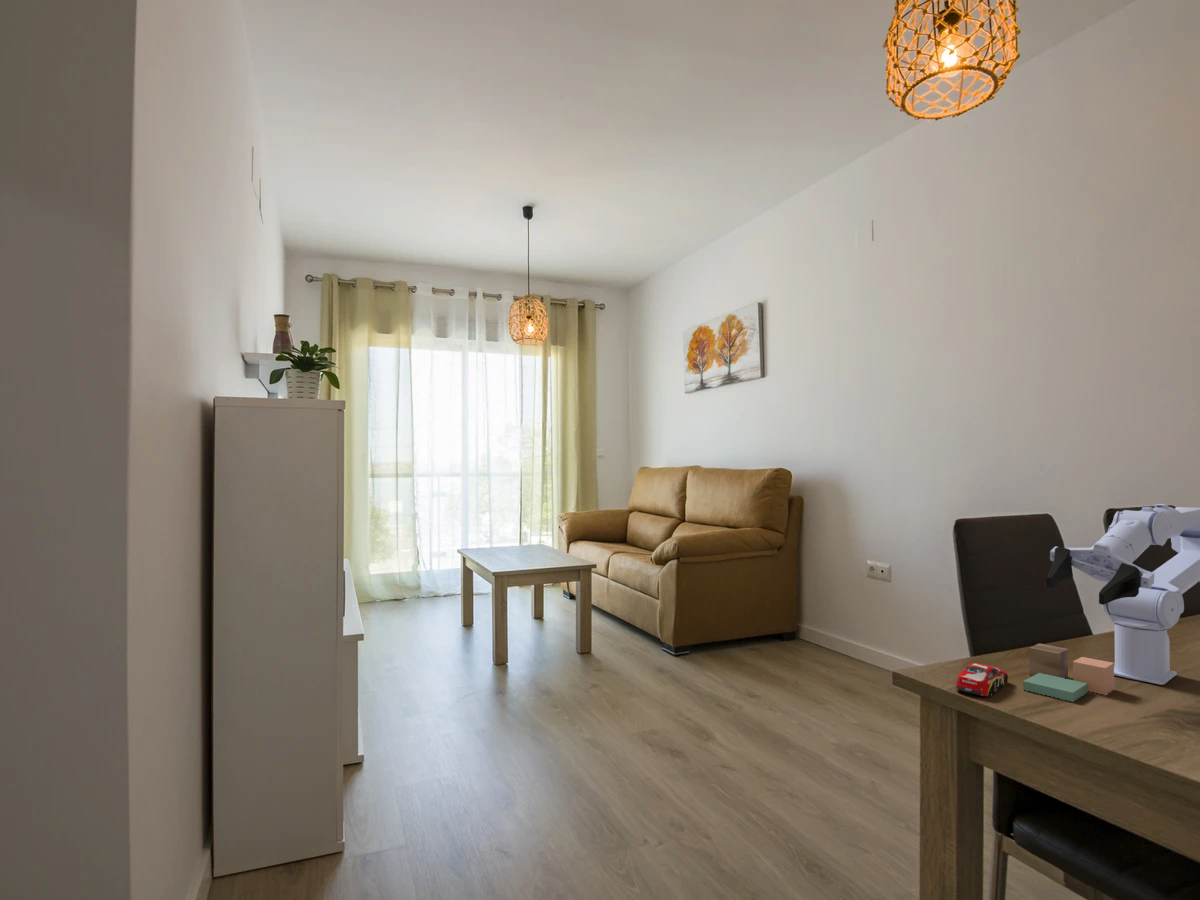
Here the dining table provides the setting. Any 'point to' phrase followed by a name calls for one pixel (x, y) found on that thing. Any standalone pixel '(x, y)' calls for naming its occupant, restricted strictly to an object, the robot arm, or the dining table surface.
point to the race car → (981, 679)
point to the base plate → (1055, 687)
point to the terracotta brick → (1094, 674)
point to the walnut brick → (1048, 660)
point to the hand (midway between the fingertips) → (1074, 590)
